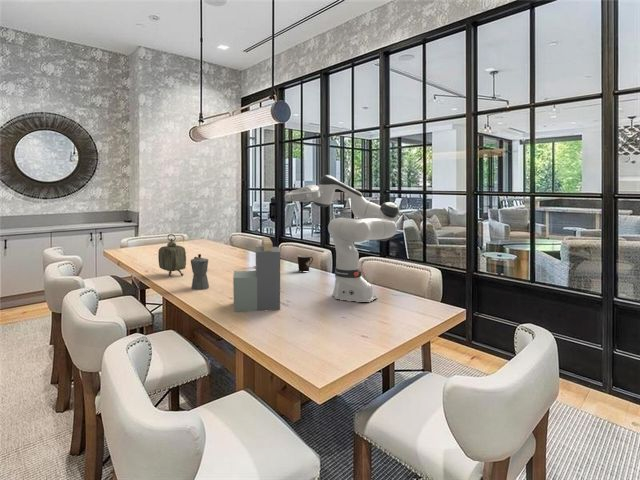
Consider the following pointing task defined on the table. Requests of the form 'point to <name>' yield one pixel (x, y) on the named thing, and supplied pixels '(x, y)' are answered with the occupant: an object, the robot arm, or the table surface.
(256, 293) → the step stand
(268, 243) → the batten
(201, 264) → the coffeepot
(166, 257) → the tabletop clock
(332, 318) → the table surface
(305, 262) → the coffee mug
